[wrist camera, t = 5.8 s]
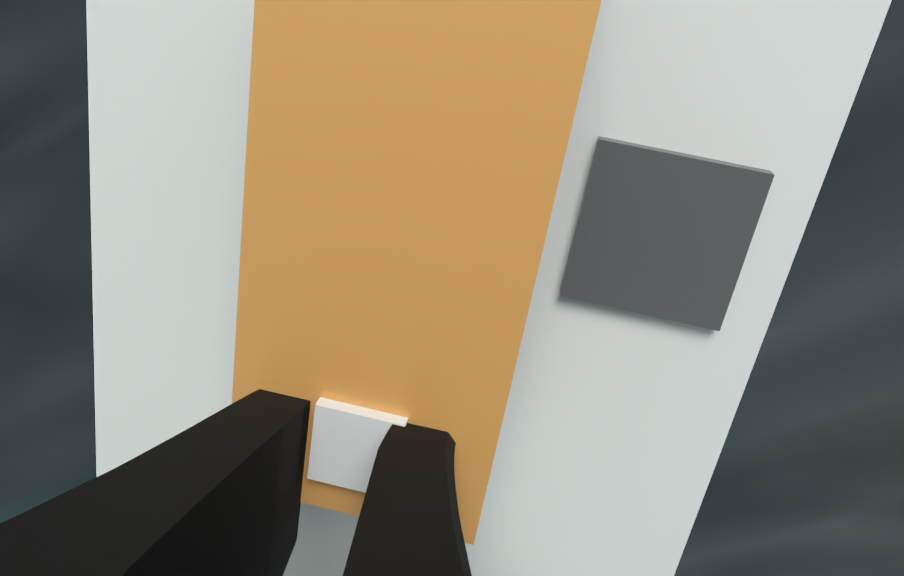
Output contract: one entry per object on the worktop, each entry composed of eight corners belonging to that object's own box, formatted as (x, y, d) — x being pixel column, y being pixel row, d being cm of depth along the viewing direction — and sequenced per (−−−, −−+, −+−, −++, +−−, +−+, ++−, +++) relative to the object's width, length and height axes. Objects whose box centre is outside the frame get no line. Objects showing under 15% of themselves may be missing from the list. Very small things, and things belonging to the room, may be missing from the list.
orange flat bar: (624, -120, 7) (635, -140, 6) (485, 480, 10) (471, 555, 9) (314, -175, 7) (258, -206, 6) (266, 427, 10) (221, 492, 9)
